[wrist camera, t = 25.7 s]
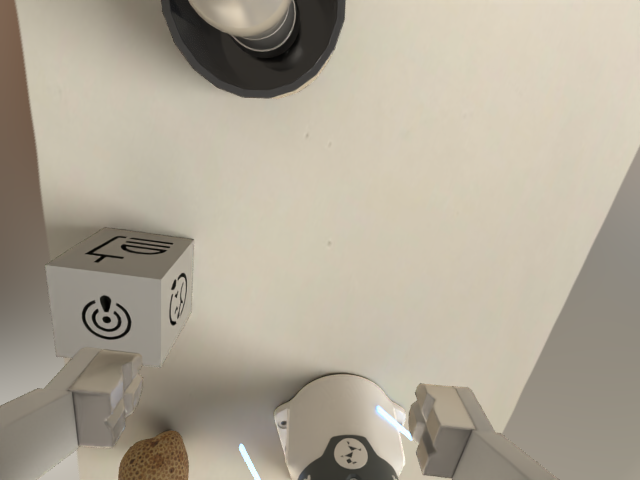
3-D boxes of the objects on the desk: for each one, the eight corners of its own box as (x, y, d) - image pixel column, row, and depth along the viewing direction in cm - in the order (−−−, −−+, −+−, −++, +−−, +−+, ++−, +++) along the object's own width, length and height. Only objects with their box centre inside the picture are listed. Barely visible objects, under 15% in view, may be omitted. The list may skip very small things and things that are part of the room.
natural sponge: (143, 460, 55) (109, 534, 45) (130, 416, 51) (91, 486, 42) (204, 457, 55) (182, 530, 45) (194, 413, 51) (169, 482, 42)
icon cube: (104, 227, 41) (44, 264, 32) (194, 239, 42) (161, 279, 33) (109, 302, 45) (56, 356, 35) (191, 312, 45) (160, 367, 36)
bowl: (333, 100, 37) (340, 100, 29) (203, 96, 36) (171, 94, 28) (340, -58, 32) (351, -114, 24) (190, -66, 32) (147, -126, 23)
